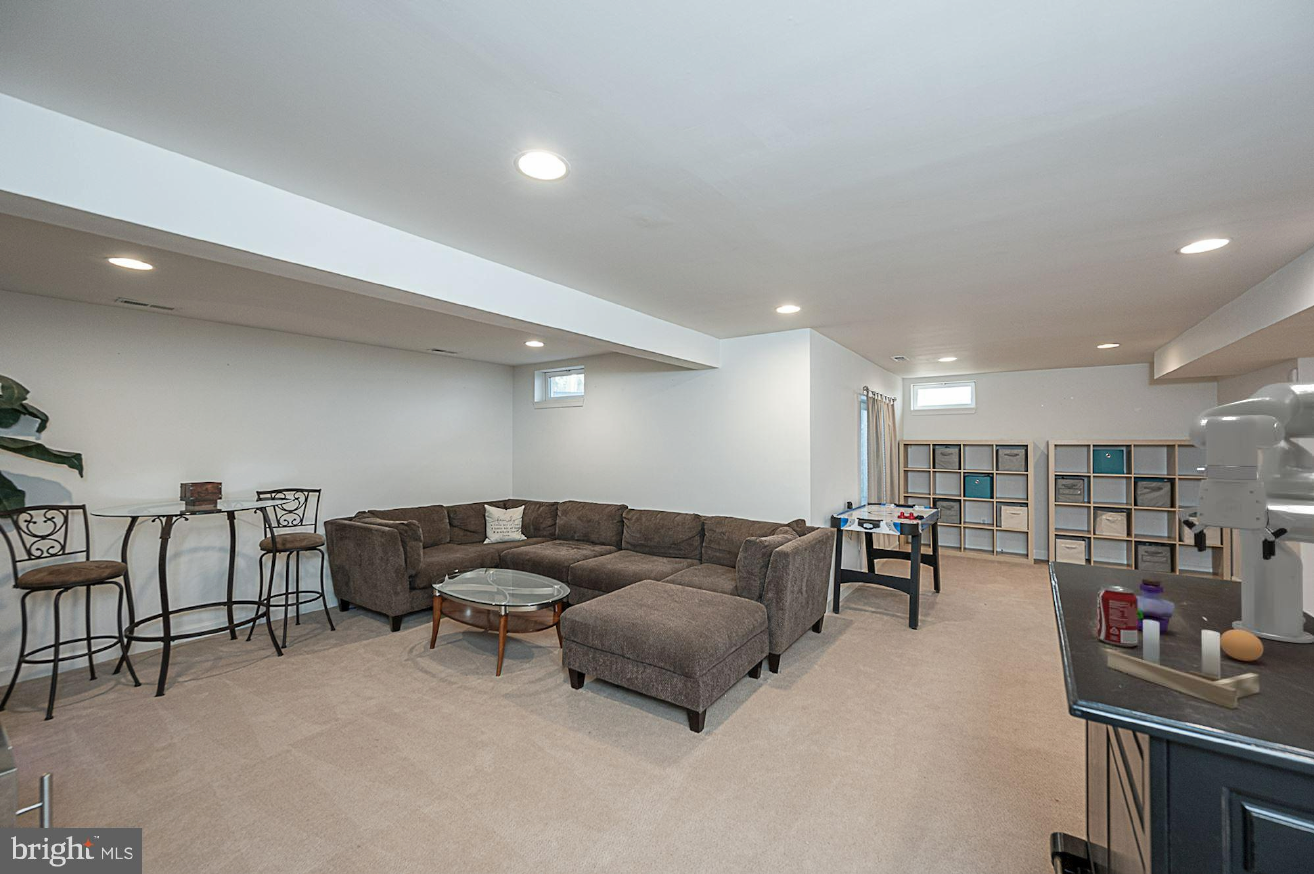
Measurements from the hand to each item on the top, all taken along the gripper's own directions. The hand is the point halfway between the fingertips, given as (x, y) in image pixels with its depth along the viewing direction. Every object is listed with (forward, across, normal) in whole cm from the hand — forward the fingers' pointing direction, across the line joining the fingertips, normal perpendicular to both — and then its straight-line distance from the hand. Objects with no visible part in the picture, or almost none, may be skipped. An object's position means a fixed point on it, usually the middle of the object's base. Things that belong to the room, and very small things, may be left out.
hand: (1233, 554), depth 115 cm
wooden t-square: (+20, -1, -29) cm, 35 cm away
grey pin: (+20, -7, -25) cm, 33 cm away
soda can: (+20, -15, -16) cm, 30 cm away
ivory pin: (+20, +1, -23) cm, 31 cm away
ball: (+17, +2, -5) cm, 18 cm away
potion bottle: (+21, -14, +3) cm, 25 cm away
